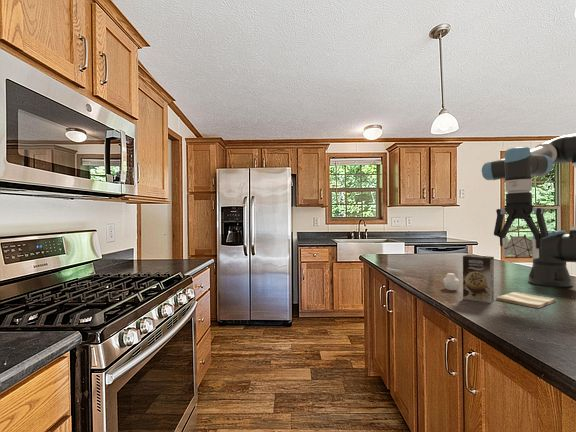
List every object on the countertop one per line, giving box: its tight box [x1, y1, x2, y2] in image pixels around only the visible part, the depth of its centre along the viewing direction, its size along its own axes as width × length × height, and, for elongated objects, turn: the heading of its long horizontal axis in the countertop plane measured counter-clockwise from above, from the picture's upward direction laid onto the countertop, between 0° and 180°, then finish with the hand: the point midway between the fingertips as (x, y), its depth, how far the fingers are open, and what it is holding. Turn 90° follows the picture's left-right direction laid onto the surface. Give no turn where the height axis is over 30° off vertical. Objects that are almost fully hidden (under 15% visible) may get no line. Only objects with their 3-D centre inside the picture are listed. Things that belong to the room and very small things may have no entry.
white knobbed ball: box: [442, 272, 460, 291], centre depth 136 cm, size 6×6×7 cm
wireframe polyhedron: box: [504, 234, 533, 259], centre depth 114 cm, size 9×8×10 cm
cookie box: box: [462, 254, 495, 304], centre depth 120 cm, size 9×6×16 cm
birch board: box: [495, 291, 556, 309], centre depth 117 cm, size 14×13×1 cm
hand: (520, 256), depth 114 cm, fingers closed on wireframe polyhedron, 8 cm apart
